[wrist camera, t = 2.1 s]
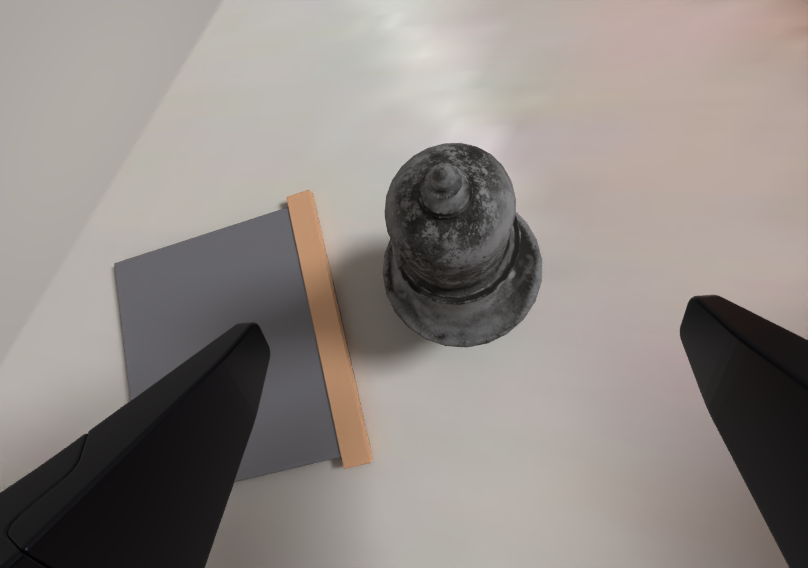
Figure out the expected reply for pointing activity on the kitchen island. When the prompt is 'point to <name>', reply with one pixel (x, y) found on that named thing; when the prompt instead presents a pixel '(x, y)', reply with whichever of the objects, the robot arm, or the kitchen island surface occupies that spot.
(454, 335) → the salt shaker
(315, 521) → the kitchen island surface
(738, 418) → the robot arm
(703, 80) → the kitchen island surface
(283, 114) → the kitchen island surface
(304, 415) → the dough scraper
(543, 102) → the kitchen island surface
